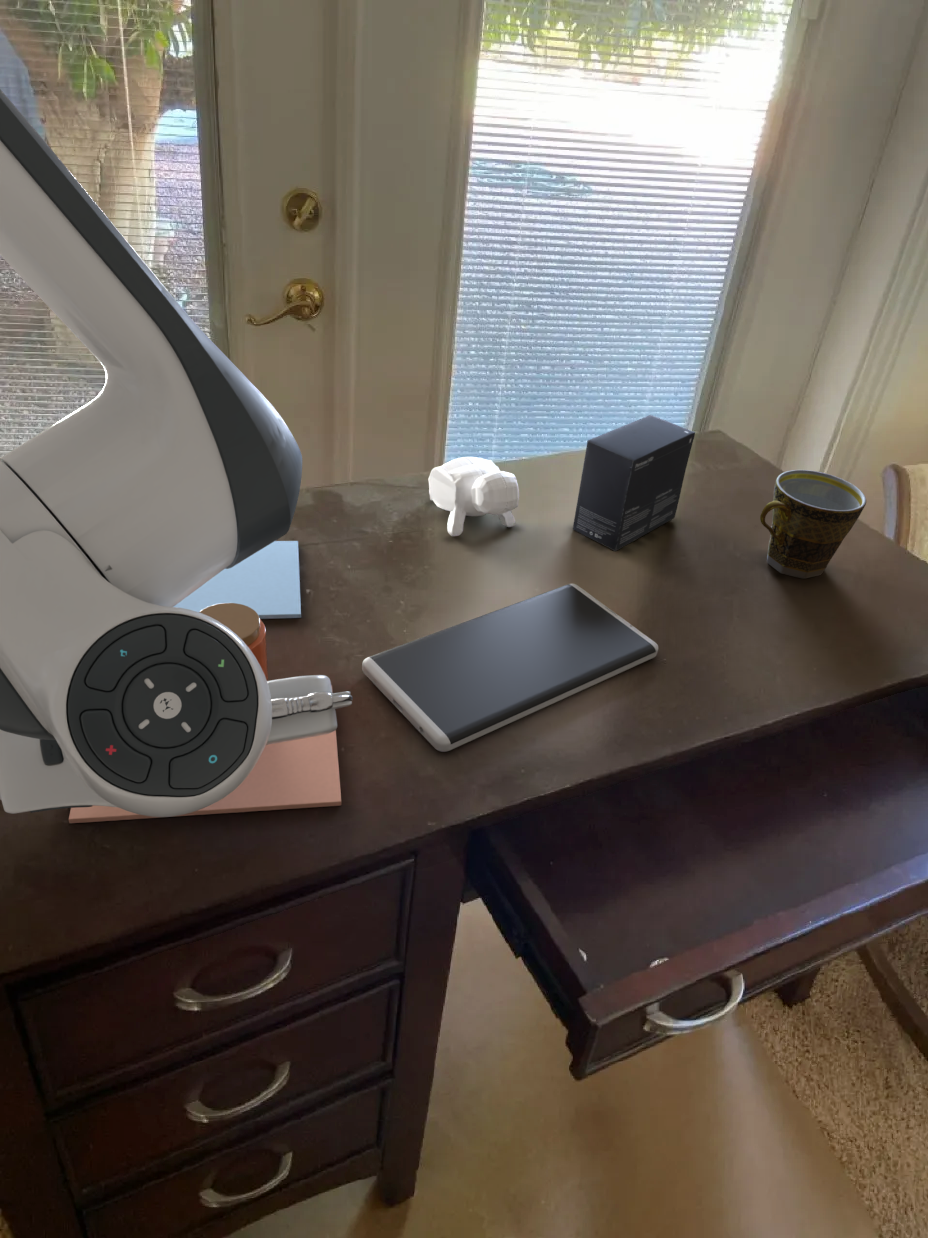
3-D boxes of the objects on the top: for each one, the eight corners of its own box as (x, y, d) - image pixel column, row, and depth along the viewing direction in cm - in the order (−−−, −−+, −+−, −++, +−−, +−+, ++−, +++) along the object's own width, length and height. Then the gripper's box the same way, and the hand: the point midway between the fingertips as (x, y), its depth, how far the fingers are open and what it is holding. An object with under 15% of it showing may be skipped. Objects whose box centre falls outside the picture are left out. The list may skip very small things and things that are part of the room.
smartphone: (357, 671, 83) (358, 657, 82) (570, 592, 97) (573, 579, 96) (440, 759, 75) (441, 744, 73) (659, 658, 89) (663, 645, 88)
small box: (631, 498, 116) (651, 412, 109) (675, 519, 113) (698, 431, 106) (569, 529, 108) (586, 438, 101) (614, 552, 105) (635, 460, 98)
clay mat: (69, 824, 66) (68, 819, 65) (98, 698, 77) (97, 694, 76) (341, 805, 69) (341, 801, 69) (332, 688, 81) (332, 684, 80)
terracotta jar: (195, 742, 73) (183, 646, 67) (199, 693, 78) (189, 600, 72) (269, 738, 74) (264, 643, 68) (269, 690, 79) (265, 598, 73)
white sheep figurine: (422, 526, 111) (475, 544, 98) (416, 458, 109) (470, 467, 96) (482, 517, 115) (542, 533, 102) (478, 450, 112) (538, 458, 99)
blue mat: (88, 623, 85) (87, 619, 85) (110, 546, 96) (109, 542, 96) (301, 618, 89) (301, 614, 88) (298, 544, 100) (298, 540, 99)
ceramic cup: (796, 536, 112) (822, 464, 106) (854, 578, 105) (886, 504, 99) (715, 552, 107) (737, 478, 101) (771, 598, 100) (798, 520, 94)
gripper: (350, 641, 52) (315, 667, 65) (-44, 697, 45) (6, 713, 58) (367, 749, 51) (329, 753, 64) (-31, 821, 44) (17, 810, 57)
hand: (173, 735), depth 61 cm, fingers open, 8 cm apart
